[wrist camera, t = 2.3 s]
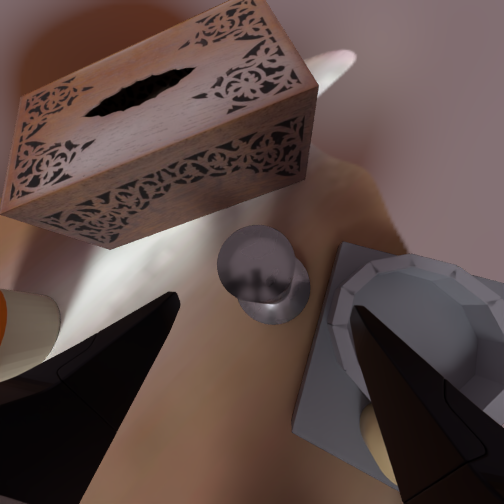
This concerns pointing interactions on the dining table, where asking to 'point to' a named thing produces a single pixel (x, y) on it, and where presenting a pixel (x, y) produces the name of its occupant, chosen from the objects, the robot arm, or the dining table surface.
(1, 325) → the reusable coffee cup
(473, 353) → the carrier plate
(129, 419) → the dining table surface
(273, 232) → the metal flanged shaft
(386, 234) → the dining table surface
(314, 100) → the tissue box cover
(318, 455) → the dining table surface
